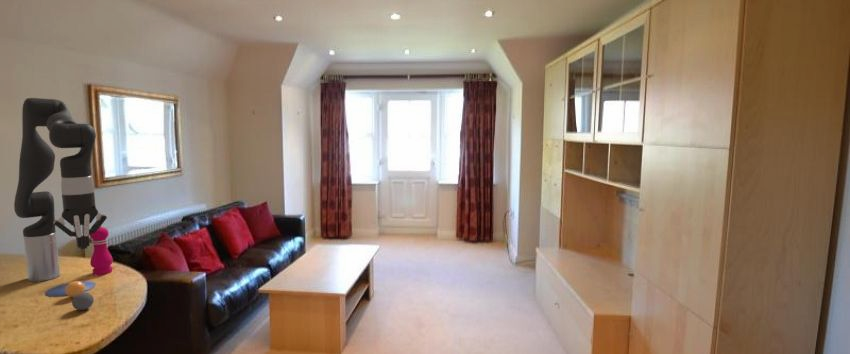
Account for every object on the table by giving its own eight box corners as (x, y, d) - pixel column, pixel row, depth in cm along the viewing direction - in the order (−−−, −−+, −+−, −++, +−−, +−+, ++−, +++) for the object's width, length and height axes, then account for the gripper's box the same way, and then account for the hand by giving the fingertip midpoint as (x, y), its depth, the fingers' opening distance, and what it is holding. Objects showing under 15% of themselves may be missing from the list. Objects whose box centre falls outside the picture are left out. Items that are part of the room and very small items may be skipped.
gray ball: (69, 310, 140) (68, 294, 139) (89, 304, 144) (88, 288, 144) (77, 314, 137) (76, 298, 136) (97, 308, 141) (96, 292, 141)
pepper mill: (101, 276, 170) (97, 226, 167) (86, 274, 171) (81, 225, 168) (118, 270, 177) (114, 222, 174) (103, 268, 178) (99, 220, 175)
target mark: (38, 291, 154) (38, 290, 154) (84, 279, 166) (84, 278, 166) (55, 299, 147) (55, 299, 147) (102, 286, 159) (102, 286, 159)
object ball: (62, 297, 149) (61, 282, 148) (81, 292, 154) (80, 277, 153) (70, 301, 146) (68, 285, 146) (89, 295, 151) (87, 280, 150)
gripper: (102, 187, 136) (107, 241, 138) (47, 192, 126) (53, 250, 129) (108, 190, 131) (112, 246, 133) (50, 195, 121) (56, 256, 123)
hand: (83, 248), depth 131 cm, fingers closed
